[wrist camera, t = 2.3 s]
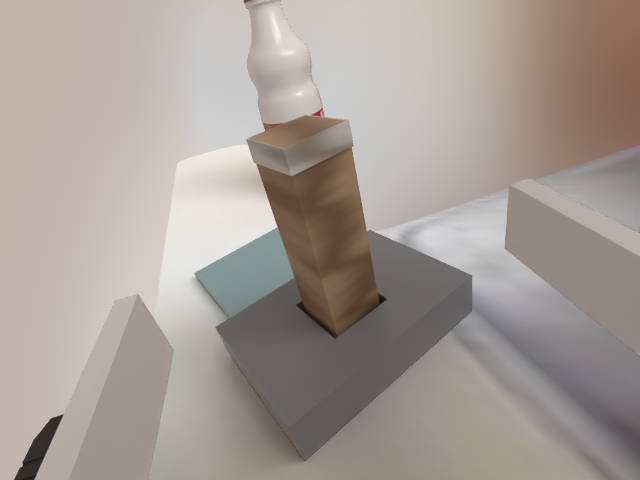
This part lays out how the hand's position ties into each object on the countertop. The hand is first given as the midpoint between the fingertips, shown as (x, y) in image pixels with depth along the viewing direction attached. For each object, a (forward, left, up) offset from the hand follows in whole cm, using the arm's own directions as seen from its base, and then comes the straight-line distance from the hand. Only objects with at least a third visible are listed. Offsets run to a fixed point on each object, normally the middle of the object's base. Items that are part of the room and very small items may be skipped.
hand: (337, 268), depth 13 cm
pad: (-7, -26, -17) cm, 31 cm away
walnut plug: (-6, -11, -16) cm, 20 cm away
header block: (-6, -11, -17) cm, 21 cm away
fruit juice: (-23, -41, -17) cm, 50 cm away
